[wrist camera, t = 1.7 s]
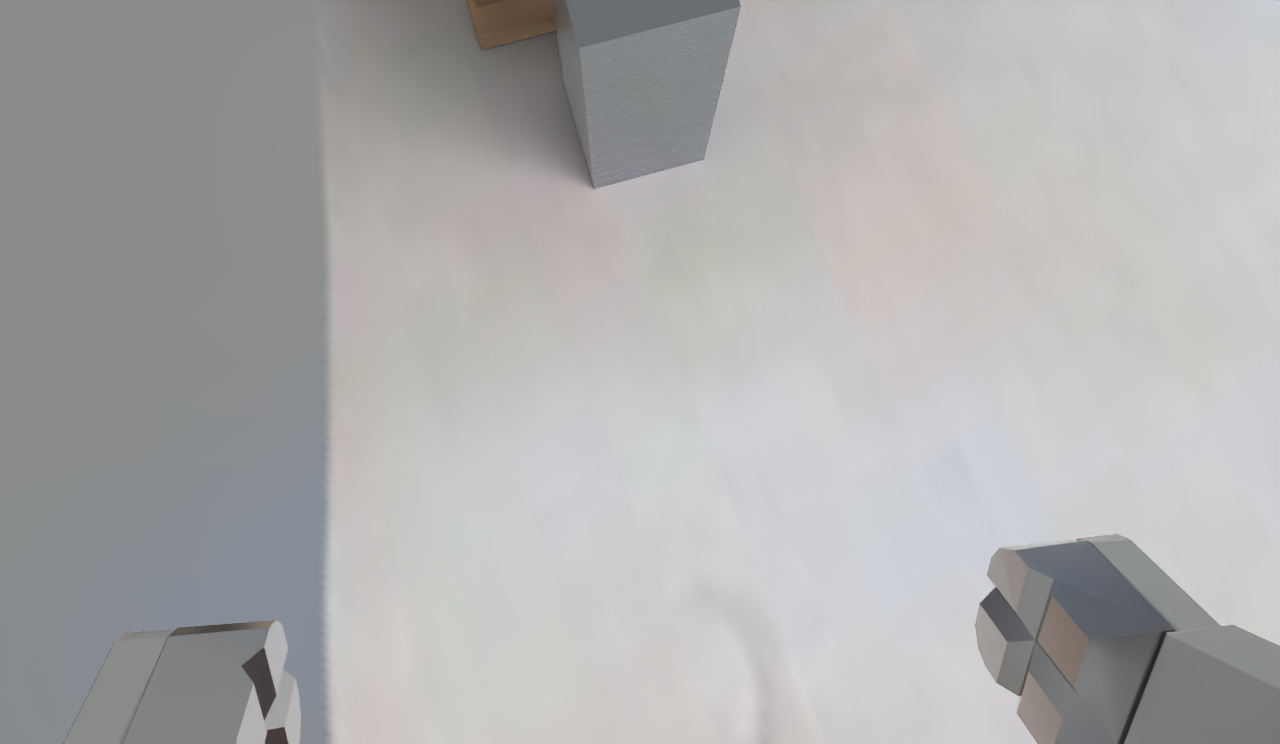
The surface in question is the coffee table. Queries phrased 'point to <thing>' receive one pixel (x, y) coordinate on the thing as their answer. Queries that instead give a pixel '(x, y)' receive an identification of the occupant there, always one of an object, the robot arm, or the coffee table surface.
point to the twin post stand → (510, 20)
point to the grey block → (643, 79)
